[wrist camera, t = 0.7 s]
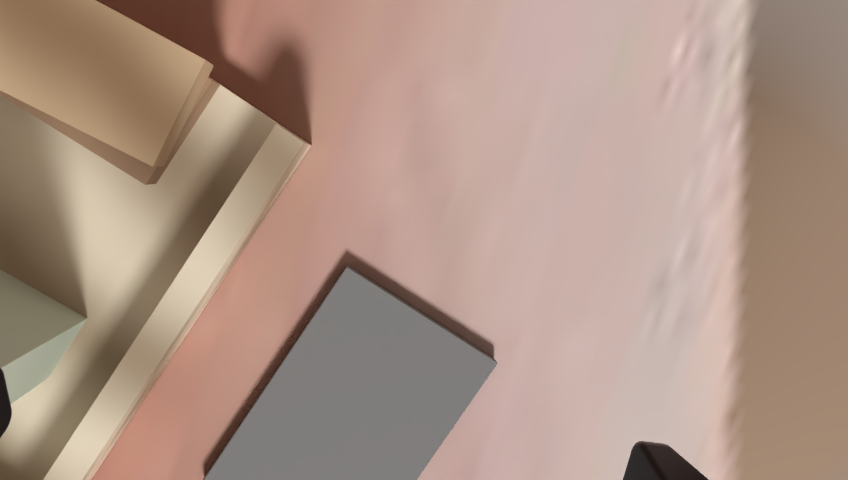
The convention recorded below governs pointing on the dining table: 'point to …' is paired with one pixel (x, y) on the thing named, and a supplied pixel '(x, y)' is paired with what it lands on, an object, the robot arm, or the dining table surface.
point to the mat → (357, 394)
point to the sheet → (32, 334)
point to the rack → (124, 264)
